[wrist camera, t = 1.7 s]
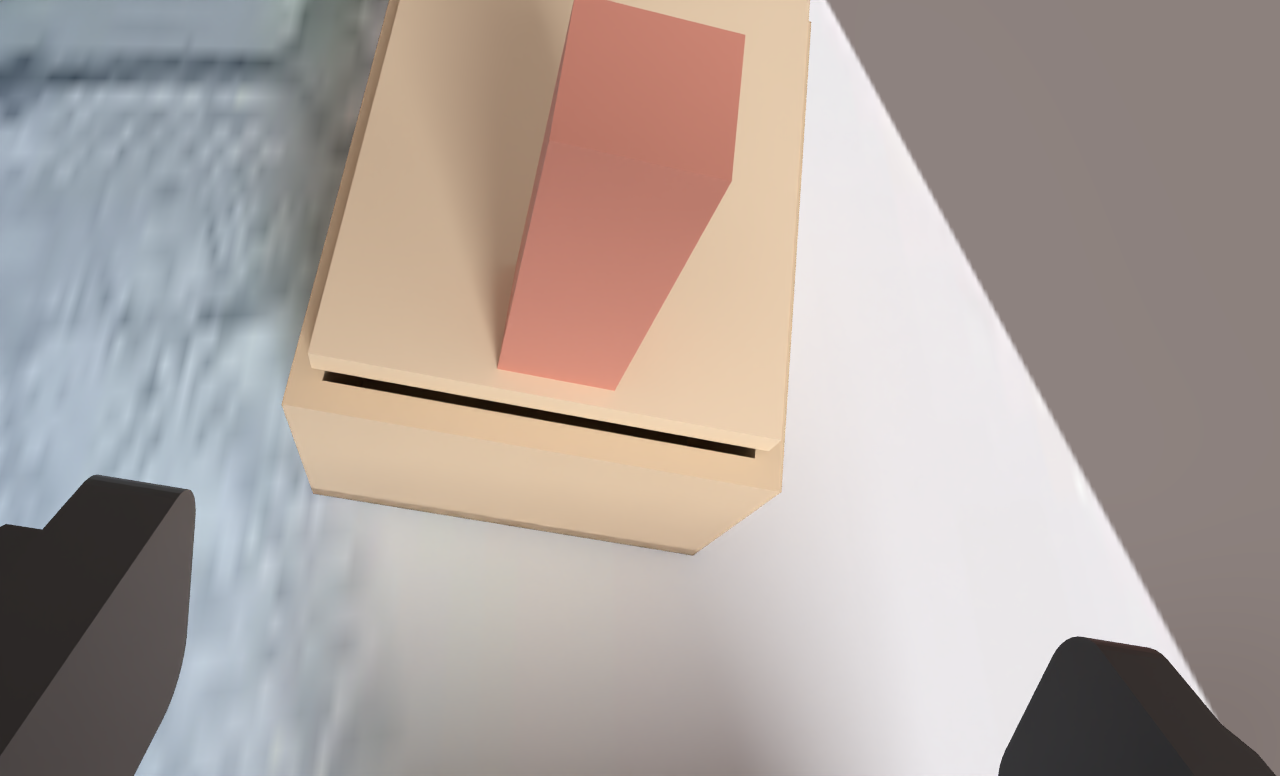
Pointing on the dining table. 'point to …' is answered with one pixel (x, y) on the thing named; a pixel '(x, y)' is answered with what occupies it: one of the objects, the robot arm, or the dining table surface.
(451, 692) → the dining table surface
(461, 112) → the flap
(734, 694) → the dining table surface
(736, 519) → the carton
